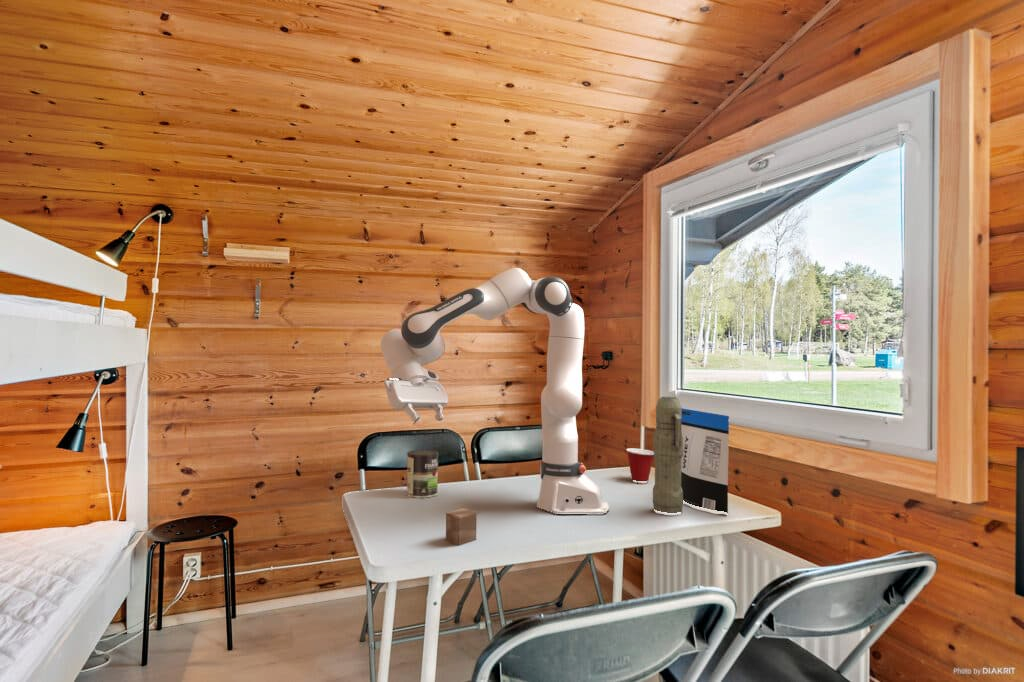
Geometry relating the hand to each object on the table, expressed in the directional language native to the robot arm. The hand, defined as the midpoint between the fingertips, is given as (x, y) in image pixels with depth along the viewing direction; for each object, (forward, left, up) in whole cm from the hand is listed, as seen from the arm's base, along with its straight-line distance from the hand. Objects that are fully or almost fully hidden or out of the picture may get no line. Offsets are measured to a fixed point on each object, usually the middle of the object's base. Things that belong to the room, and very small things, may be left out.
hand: (428, 419), depth 163 cm
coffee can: (+10, -34, -29) cm, 46 cm away
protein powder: (-81, -34, -29) cm, 92 cm away
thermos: (-69, -26, -29) cm, 79 cm away
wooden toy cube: (-12, +10, -29) cm, 33 cm away
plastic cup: (-65, -65, -29) cm, 96 cm away
